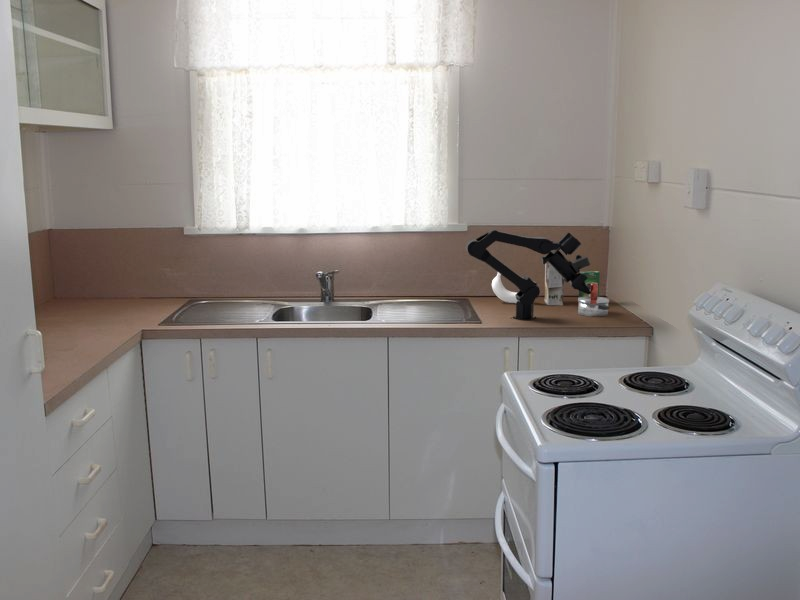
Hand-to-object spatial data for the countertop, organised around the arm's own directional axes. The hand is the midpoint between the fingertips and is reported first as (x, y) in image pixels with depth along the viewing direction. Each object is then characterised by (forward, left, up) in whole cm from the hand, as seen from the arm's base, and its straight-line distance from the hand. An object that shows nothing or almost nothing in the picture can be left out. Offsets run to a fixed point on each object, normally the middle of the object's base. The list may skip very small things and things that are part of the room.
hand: (589, 293), depth 301 cm
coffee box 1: (+14, +26, -9) cm, 32 cm away
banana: (+3, +37, -9) cm, 39 cm away
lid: (+7, +3, -4) cm, 8 cm away
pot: (+8, +4, -9) cm, 13 cm away
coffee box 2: (+24, +16, -9) cm, 31 cm away
